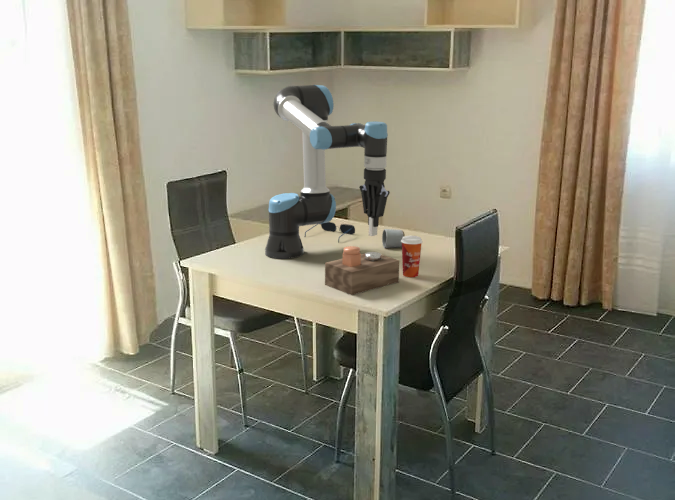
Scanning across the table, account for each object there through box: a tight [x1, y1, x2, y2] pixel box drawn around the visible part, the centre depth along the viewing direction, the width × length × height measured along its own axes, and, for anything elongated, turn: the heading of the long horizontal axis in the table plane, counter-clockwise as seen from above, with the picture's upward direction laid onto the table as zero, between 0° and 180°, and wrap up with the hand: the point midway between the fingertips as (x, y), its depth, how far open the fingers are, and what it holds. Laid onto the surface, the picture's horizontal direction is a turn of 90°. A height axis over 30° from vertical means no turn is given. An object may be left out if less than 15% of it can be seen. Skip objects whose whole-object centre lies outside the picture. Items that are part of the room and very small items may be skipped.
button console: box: [324, 252, 400, 296], centre depth 268 cm, size 14×22×8 cm, turn 130°
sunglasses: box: [304, 221, 356, 244], centre depth 331 cm, size 17×15×5 cm
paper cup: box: [401, 235, 423, 279], centre depth 277 cm, size 8×8×14 cm
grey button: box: [364, 251, 382, 262], centre depth 271 cm, size 6×6×8 cm
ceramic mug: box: [381, 228, 406, 249], centre depth 316 cm, size 11×8×8 cm
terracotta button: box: [342, 245, 362, 267], centre depth 264 cm, size 6×6×8 cm
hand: (372, 235), depth 268 cm, fingers closed
